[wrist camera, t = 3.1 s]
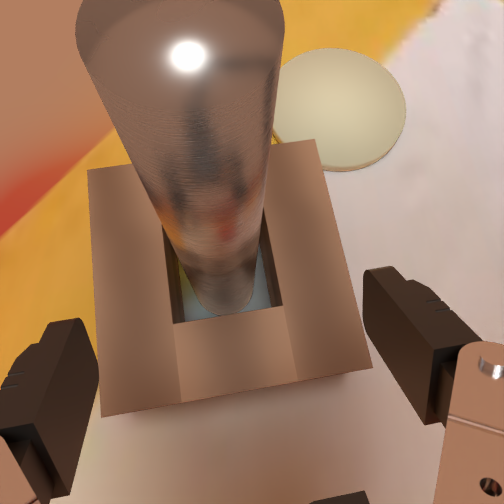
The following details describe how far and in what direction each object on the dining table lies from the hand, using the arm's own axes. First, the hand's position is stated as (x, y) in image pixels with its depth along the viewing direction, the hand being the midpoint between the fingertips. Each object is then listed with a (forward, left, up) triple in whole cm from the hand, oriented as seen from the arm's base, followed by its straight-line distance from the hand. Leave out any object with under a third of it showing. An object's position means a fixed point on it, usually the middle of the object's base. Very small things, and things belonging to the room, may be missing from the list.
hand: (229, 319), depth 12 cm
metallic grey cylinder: (0, -5, -16) cm, 17 cm away
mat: (-11, -18, -16) cm, 27 cm away
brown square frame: (0, -5, -16) cm, 17 cm away
